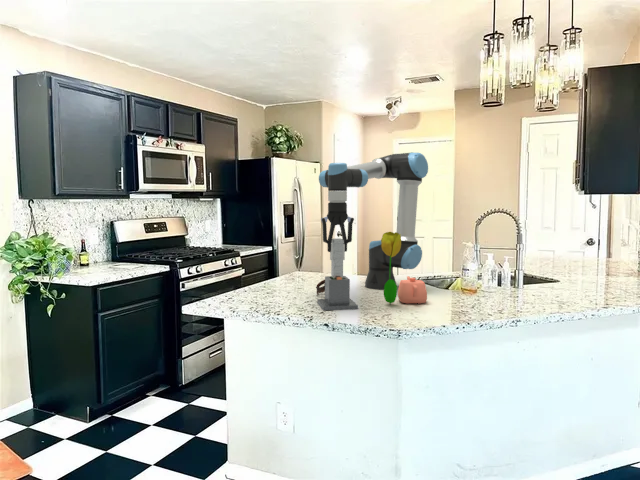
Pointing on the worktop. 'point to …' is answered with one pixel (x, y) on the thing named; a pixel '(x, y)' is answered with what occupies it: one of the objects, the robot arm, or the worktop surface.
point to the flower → (390, 248)
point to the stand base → (337, 295)
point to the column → (337, 258)
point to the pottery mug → (320, 289)
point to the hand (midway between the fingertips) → (337, 259)
